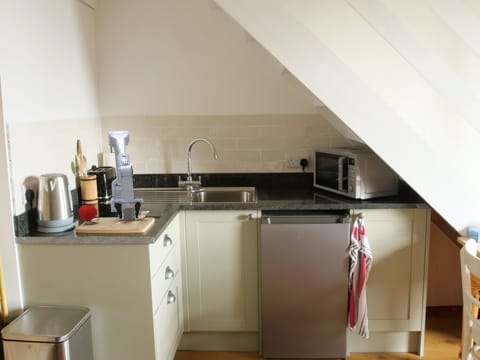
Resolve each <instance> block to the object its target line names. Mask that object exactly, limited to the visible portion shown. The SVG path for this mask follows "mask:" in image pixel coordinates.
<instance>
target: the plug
mask: <svg viewBox="0 0 480 360" xmlns="http://www.w3.org/2000/svg"><path fill="white" fill-rule="evenodd" d="M134 211H135V207H130V208H125V209H124V210H123V212H122V216H124V220H123V221H134V220H135V219H134V216H135V213H134Z"/></svg>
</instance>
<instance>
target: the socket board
mask: <svg viewBox="0 0 480 360" xmlns="http://www.w3.org/2000/svg"><path fill="white" fill-rule="evenodd" d="M149 213H150V210H139V214H138V218H136V215H134V220H133V221H124V216H123V215H122V219H120V218H118V219H117V220H116V221H114V222H113V223H112V225H126V224H127V225H128V224H130V225H131V224H139V223H140V222H141V221H142V220H143V219H144V218H145V217H146V216H147V215H148V214H149ZM134 214H135V210H134Z"/></svg>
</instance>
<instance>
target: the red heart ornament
mask: <svg viewBox="0 0 480 360" xmlns="http://www.w3.org/2000/svg"><path fill="white" fill-rule="evenodd" d="M78 215H79V217H80V218H81V219H82V220H83V221H84V222H85V224H86V225H91V224H93V222H92V221H93V220H94V219H95V218H96V217H97V215H98V210H97V207H96V206H95V205H87V204H84V205H81V206H80V207H79V209H78Z"/></svg>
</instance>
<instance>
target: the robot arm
mask: <svg viewBox="0 0 480 360" xmlns="http://www.w3.org/2000/svg"><path fill="white" fill-rule="evenodd" d="M107 134H108V145H109V147H111V148H113V150H114V159H115V162H114V163H115V172H116V173H115V174H116V178H115V179H114V180H112V182H111V195H112V197H111V198H110V210H111V213H117V215H118V217H119V218H120V219H122V216H123V210H124V209H125V208H131V204H134V211H135V213H134V215H135V216H136V218H138V216H139V215H140V213H139V211H141V210H140V209H141V207H142V205H143V203H144V198H135V197H134V195H135V194H134V182H133V177H134V168H133V164H132V163H131V159H130V155H129V153H127V150H126V149H127V146H129V142H130V132H129V131H128V130H112V131H111V130H109V131H108V133H107ZM119 218H118V219H119Z"/></svg>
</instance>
